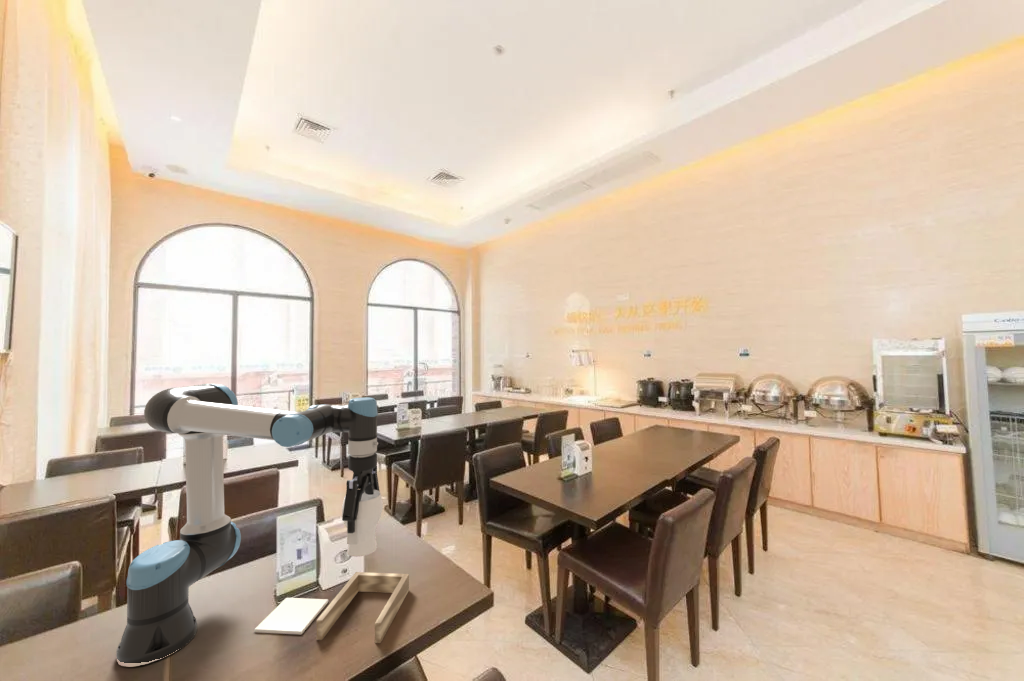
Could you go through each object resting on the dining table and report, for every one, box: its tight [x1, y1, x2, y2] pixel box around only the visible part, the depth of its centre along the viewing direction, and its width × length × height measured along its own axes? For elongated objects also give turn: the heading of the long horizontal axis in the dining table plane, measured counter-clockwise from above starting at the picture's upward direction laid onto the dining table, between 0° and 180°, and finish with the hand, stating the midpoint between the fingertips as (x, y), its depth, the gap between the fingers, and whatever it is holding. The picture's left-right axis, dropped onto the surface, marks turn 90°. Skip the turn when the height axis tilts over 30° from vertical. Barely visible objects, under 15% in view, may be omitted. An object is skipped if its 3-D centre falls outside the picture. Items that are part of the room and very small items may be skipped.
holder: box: [315, 571, 410, 644], centre depth 110 cm, size 17×22×5 cm
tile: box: [254, 597, 329, 635], centre depth 109 cm, size 13×13×1 cm
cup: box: [341, 490, 384, 558], centre depth 108 cm, size 11×11×15 cm
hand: (362, 533), depth 108 cm, fingers closed on cup, 10 cm apart
